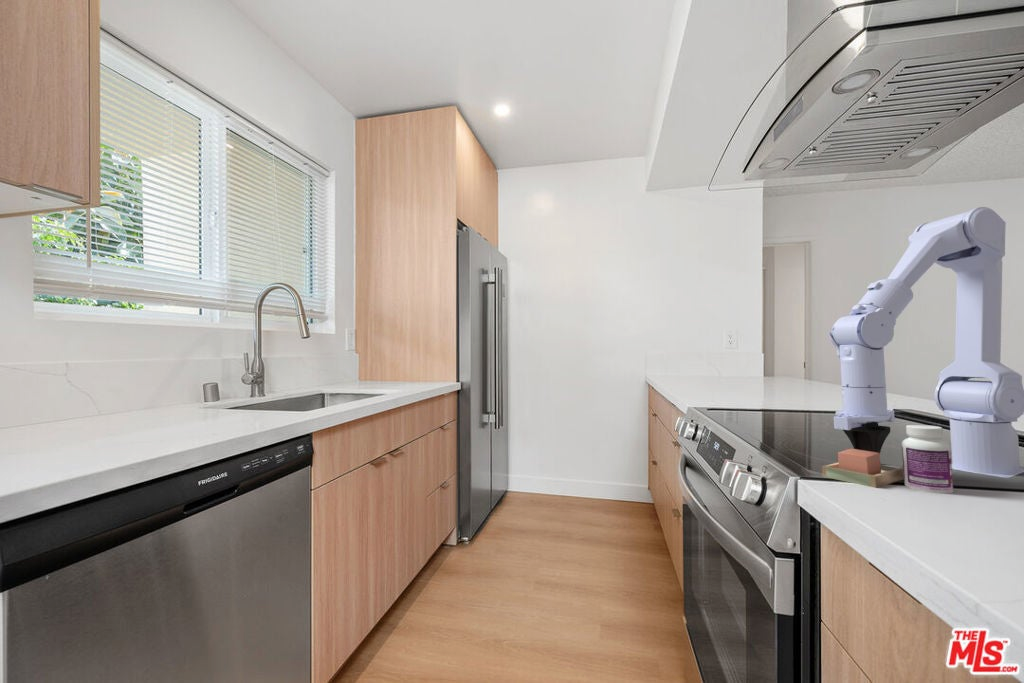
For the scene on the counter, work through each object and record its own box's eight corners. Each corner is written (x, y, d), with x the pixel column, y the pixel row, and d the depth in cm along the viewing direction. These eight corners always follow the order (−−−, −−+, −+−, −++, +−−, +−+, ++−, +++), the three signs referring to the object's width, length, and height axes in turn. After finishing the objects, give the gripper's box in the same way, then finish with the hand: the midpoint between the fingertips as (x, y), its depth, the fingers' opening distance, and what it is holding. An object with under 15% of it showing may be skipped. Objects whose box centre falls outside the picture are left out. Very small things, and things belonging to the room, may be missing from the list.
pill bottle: (964, 497, 62) (959, 429, 62) (921, 496, 63) (916, 429, 63) (935, 486, 67) (930, 423, 67) (895, 485, 68) (891, 423, 68)
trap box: (872, 466, 79) (872, 454, 79) (925, 475, 73) (924, 462, 73) (822, 479, 72) (821, 466, 72) (875, 491, 65) (875, 476, 65)
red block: (852, 472, 73) (850, 448, 73) (881, 477, 69) (879, 452, 70) (839, 476, 71) (837, 452, 71) (868, 483, 68) (866, 457, 68)
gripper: (858, 383, 79) (863, 458, 78) (811, 388, 72) (816, 470, 72) (907, 384, 72) (912, 467, 72) (861, 390, 66) (866, 480, 66)
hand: (868, 469), depth 72 cm, fingers closed, pressing on red block
